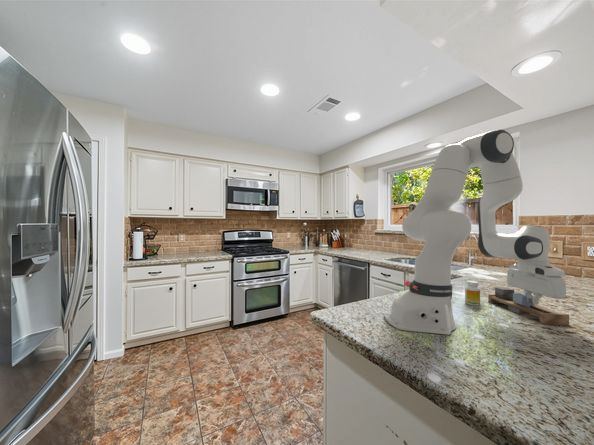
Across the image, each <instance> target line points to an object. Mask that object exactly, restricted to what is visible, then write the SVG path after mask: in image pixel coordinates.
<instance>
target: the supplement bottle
mask: <svg viewBox="0 0 594 445" xmlns="http://www.w3.org/2000/svg"><path fill="white" fill-rule="evenodd" d="M466 284H467V285H465V286H464V303H465V304H467V305H469V306H474V307H475V306H477V307H478V306H480V305H481V288H480V287H479V282H478V281H475V280H467V281H466Z"/></svg>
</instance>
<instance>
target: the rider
mask: <svg viewBox="0 0 594 445" xmlns="http://www.w3.org/2000/svg"><path fill="white" fill-rule="evenodd" d="M532 296H533V297H534V295H532ZM513 302H515V303H517V304H520V305H523V306H526V307H529V308H530V305H536V304H532V303H529V302H527V297H526V295H525V293H522V292H521V293H519V292H518V293H515V292H514V293H513Z"/></svg>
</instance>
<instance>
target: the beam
mask: <svg viewBox="0 0 594 445" xmlns="http://www.w3.org/2000/svg"><path fill="white" fill-rule="evenodd" d="M513 293H515V289H513V288H510V287H505V286H503V287H502V286H496V287H494V293H492V294H491V293H489V294H488V299H487V300H488V303H490V304H494V303H495V304H504V305H506V306H507V307H508V308H507V310H509V311H511V312H514V313H517V314H519V315H532V316H533V315H534V316H536V317H539V323H540V324H542V325H561V326H562V325H564V326H565V325H569V326H570V314H569V313H562V312H558V311H555V310H552V309H549V308H546V307H544V306H541V305H539V304H538V305H537V304H535V305H530V308H529V307H526V306H523V305H520V304H517V303H515V302H513Z"/></svg>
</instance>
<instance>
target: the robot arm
mask: <svg viewBox="0 0 594 445" xmlns="http://www.w3.org/2000/svg"><path fill="white" fill-rule="evenodd" d="M514 147H515V141H514V138H513V136H512V135H511V133H510V132H507V131H506V130H505V129H495V130H489V131H487V132H485V133H481V134H478V135H474V136H471V137H467V138H466V139H464V140H462V141H460V142H456V143H451V144H448V145H446V146H444V147H443V148H442V149H441V150H440V151H439V153H438V155H437V157H436V159H435V161H434V163H433V166H432V168H431V171H430V175H429V178H428V181H427V184H426V186H425V190H424V192H423V194H422V197H421V198H420V200H419V201H418V203H417V205H416V206H415V207H414V209H413V210H412V211H411V213H409V214H407V216H406V217H405V218H404V219H403V222H402V225H401V226H402V232H403V233H404V235H405V236H406V237H407V238H409V239H412V240H414V241H418V242H424V244H423V248H422V251H421V252H420V253H419V254H418V255H417V256H416V257H415V258H414V259H415V260H414V279H413V280H412V281H411V280H410V281H409V280H407V279H406V280H404V281H403V283H404V286H406V287H408V288H409V289H408V290H407V291H406V292H404V293H403V294H402V295H400V296H398V297H396V299H395V298H394V300H393V302H392V304H391V308H390V309H391V310H390V311H386V312H385V313H384V319H385V321H386V322H387V323H389V324H390V326H392V327H394V328H396V329H397V330H400V331H407V332H408V331H409V332H416V333H417V332H419V333H427V334H429V333H430V334H440V335H451V334H452V331H454V330H456V328H457V326H456V325H457V324H456V322H455V319H454V315H453V314H454V313H453V306H452V298H453V284H452V280H451V279H452V277H451V276H452V265H453V264H452V263H453V258H454V255H455V253H456V251H457V249H458V247H459V246H460V244H462V243H463V242H465V241H466V240H467V239H468V238H469V236H470V235H471V231H472V223H471V221H470V219H469V217H468V215H466V214H465V213H464V212H461V211H457V210H449V209H450V208H451V207H453V205H454V204H456V203H457V202H458V201H459V200H460V199H461V197H462V194H463V191H464V187H465V183H466V180H467V177H468V174H469V170H470V169H472V168H479V170H480V176H481V182H482V183H481V184H482V196H481V197H480V198H479V199H478V202H477V218H478V219H477V222H478V224H477V225H478V238H477V248H478V250H479V251H480V253H481V254H482V255H483V256H484V257H486V258H501V259H509V260H511V259H512V260H517V264H516V263H513V264H511V265H509V267H508V270H507V275H506V283H507V285H508V286H510V287H514V288H517V289H521V290H523V294H525V295H526V297H527V302H529V303H532V304H535V305H538V306H539V304H540V300H541V298H542V297H543V296H546V297H548V298H551V299H555V300H556V299H559V300H560V299H561V300H563V299H564V298H565V297H566V296H567V285H566V283H567V282H566V281H565V279H564V278H563V277H566V272H565V271H564V269H563V270H562V269H561V268H559V267H557V266H554V265H553V264H551V262H550V257H549V252H550V247H551V246H550V243H551V242H550V236H549V234H550V233H549V231H548V229H547V228H545V227H543V226H540V225H534V224H533V225H531V224H527V225H524V224H523V225H521V226H520V227H519V229H518V231H516V232H514V233H499V232H498V231H497V230H496V229H497V228H496V226H497V225H496V212H497V210H499V208H500V207H502V206H504V205H506V204H508V203H511V202H513V201H515V200H516V199H517V198H518V197H519V196H520V195H521V194H522V191H523V186H524V185H523V179H522V176H521V171H520V168H519V166H518V163H517V159H516V158H515V156H514V154H513V151H514ZM533 296H534V297H533Z"/></svg>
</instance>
